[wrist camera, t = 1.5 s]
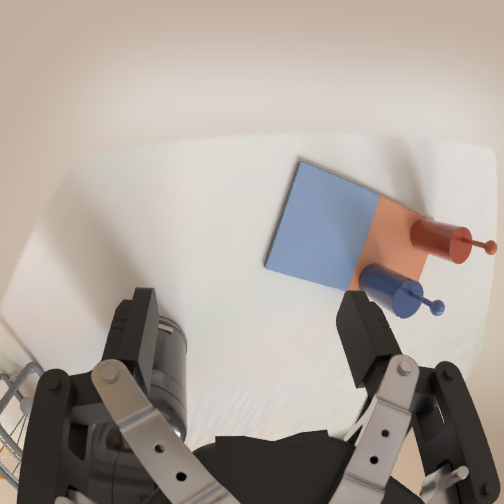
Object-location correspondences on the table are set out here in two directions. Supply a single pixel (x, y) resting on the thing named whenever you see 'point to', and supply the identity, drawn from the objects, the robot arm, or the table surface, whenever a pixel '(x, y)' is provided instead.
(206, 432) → the table surface
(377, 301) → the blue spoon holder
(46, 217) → the table surface
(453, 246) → the terracotta spoon holder
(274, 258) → the sorting board
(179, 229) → the table surface
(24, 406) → the newton's cradle
